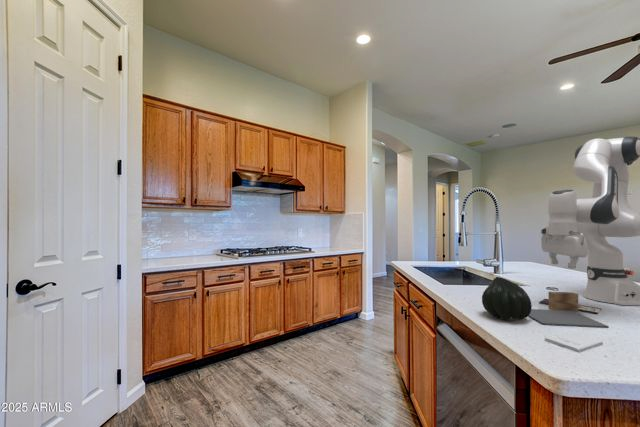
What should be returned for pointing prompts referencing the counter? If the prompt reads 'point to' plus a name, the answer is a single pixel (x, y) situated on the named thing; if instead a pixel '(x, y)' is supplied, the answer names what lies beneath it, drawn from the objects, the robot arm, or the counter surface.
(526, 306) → the squash
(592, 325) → the mat
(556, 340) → the external hard drive
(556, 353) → the counter surface
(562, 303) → the box
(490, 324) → the counter surface
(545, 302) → the chocolate bar
